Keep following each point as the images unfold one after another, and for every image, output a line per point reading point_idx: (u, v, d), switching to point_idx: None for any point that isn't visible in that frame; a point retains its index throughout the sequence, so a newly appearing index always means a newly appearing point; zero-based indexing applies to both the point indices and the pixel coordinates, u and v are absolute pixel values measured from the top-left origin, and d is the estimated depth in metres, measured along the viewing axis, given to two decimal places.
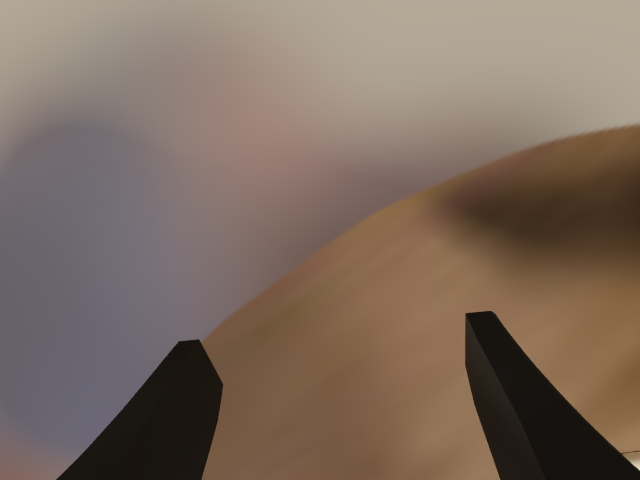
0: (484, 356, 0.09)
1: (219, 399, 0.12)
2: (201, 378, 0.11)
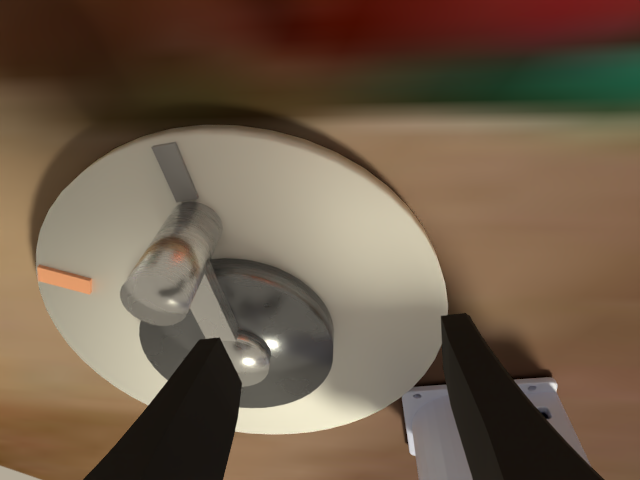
0: (455, 358, 0.09)
1: (238, 398, 0.12)
2: (222, 376, 0.11)
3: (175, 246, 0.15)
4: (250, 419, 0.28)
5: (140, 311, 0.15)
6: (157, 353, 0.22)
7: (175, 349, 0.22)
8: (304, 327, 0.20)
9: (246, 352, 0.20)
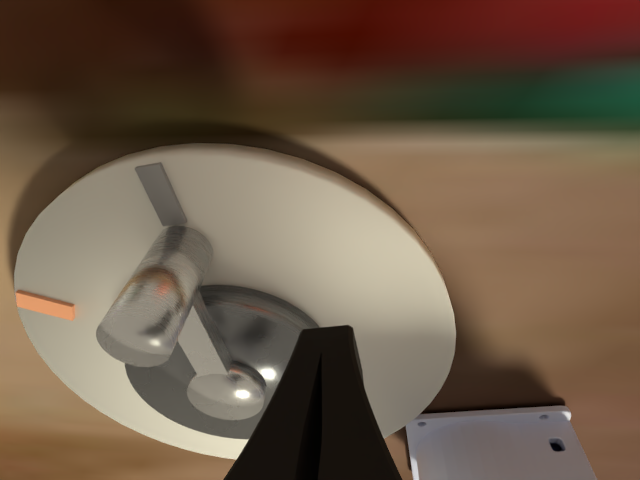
0: None
1: None
2: None
3: (159, 279, 0.14)
4: None
5: (119, 352, 0.14)
6: (145, 384, 0.20)
7: (164, 380, 0.20)
8: None
9: (239, 385, 0.19)
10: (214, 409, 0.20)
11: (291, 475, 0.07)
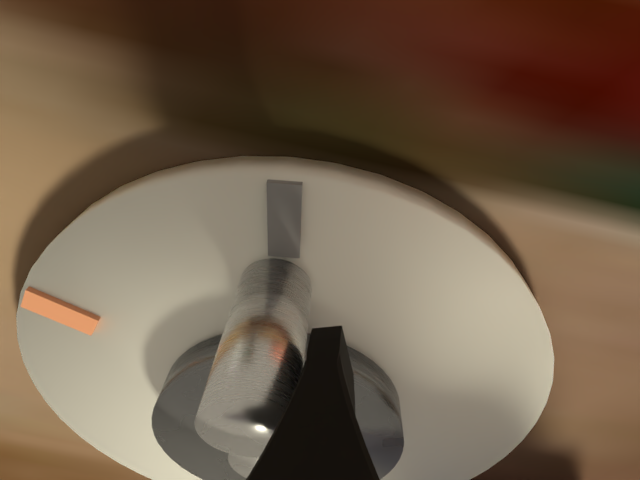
0: (307, 370, 0.09)
1: (353, 389, 0.11)
2: (346, 366, 0.10)
3: (280, 342, 0.10)
4: None
5: (217, 437, 0.10)
6: (170, 430, 0.16)
7: None
8: (379, 431, 0.16)
9: None
10: None
11: (316, 474, 0.07)
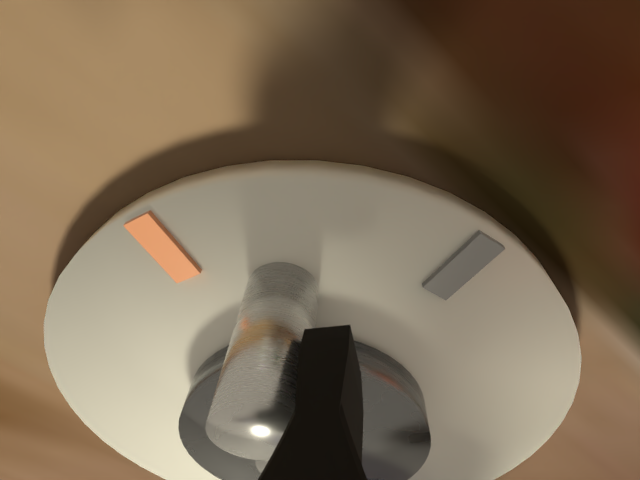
0: None
1: (361, 389, 0.11)
2: (354, 365, 0.10)
3: (284, 344, 0.10)
4: (182, 468, 0.22)
5: (230, 443, 0.10)
6: (198, 440, 0.17)
7: None
8: (403, 427, 0.15)
9: None
10: None
11: (328, 474, 0.07)
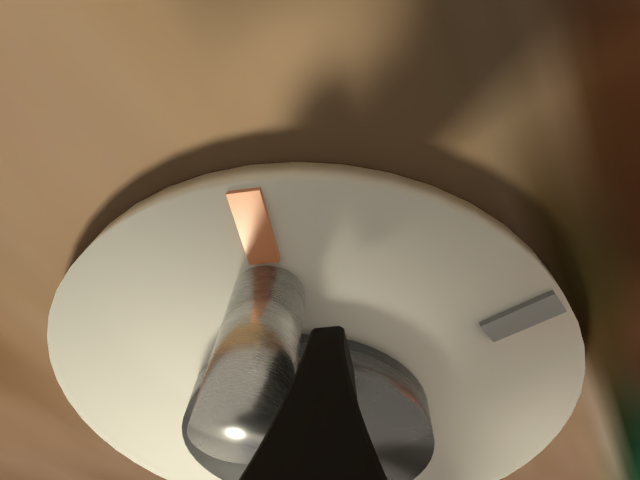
0: (312, 370, 0.09)
1: None
2: None
3: (263, 346, 0.11)
4: (143, 443, 0.21)
5: (214, 447, 0.10)
6: None
7: None
8: (403, 424, 0.15)
9: None
10: None
11: (308, 474, 0.07)
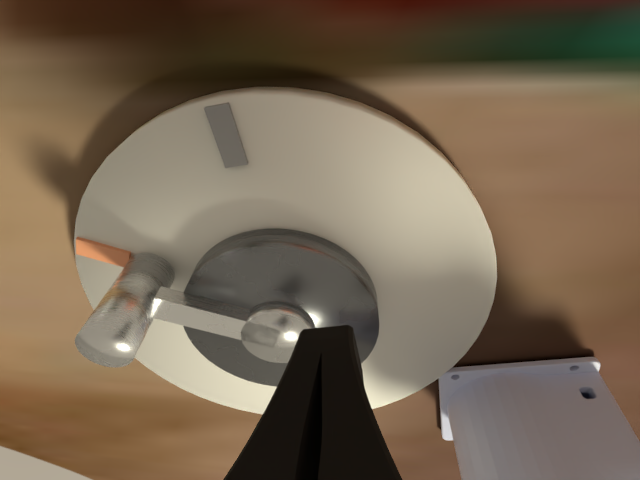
0: None
1: None
2: None
3: (100, 301, 0.18)
4: None
5: (113, 361, 0.18)
6: (253, 374, 0.23)
7: (254, 361, 0.23)
8: (272, 263, 0.18)
9: (265, 322, 0.20)
10: (289, 353, 0.21)
11: (291, 475, 0.07)
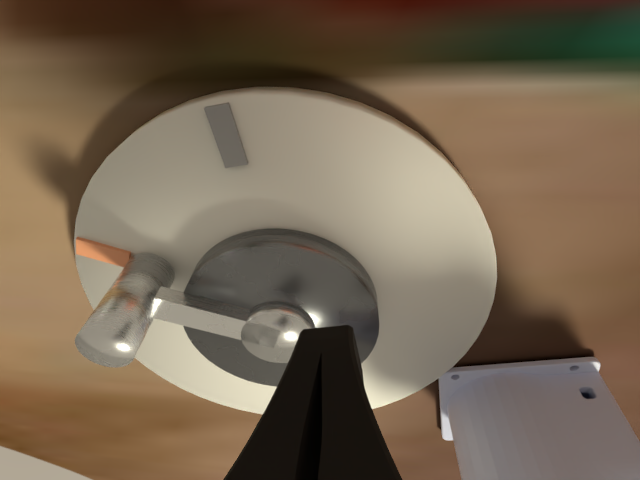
0: None
1: None
2: None
3: (100, 301, 0.18)
4: None
5: (113, 361, 0.18)
6: (253, 374, 0.23)
7: (254, 361, 0.23)
8: (272, 263, 0.18)
9: (265, 322, 0.20)
10: (289, 353, 0.21)
11: (291, 475, 0.07)
